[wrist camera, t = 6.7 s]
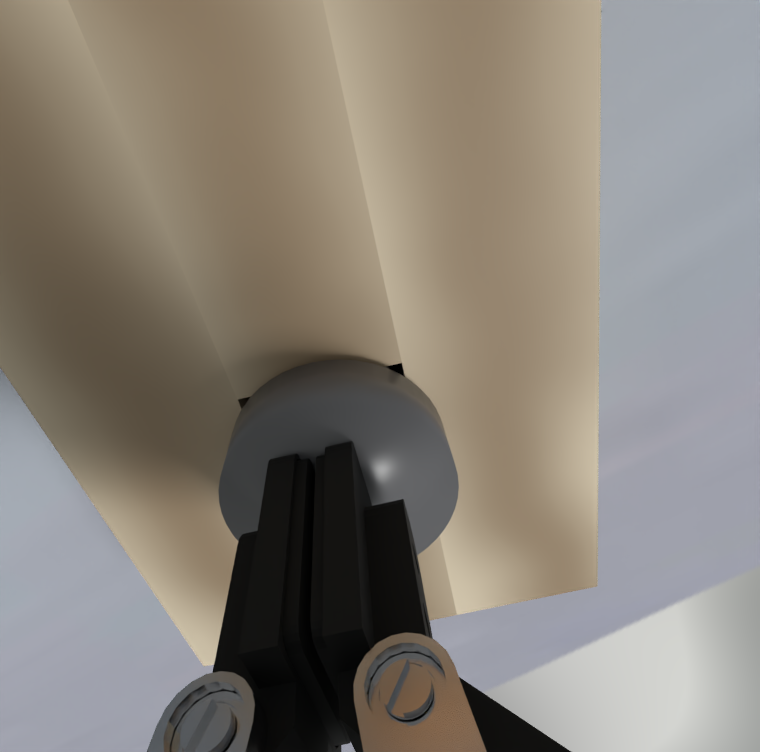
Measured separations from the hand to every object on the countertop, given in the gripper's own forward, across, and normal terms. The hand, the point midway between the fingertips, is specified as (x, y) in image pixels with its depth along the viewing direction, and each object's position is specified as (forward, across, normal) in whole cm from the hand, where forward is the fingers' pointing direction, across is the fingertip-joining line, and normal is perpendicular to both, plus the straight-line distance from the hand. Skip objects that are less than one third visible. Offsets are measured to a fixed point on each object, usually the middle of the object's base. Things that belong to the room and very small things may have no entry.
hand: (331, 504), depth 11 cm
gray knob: (+6, 0, 0) cm, 6 cm away
